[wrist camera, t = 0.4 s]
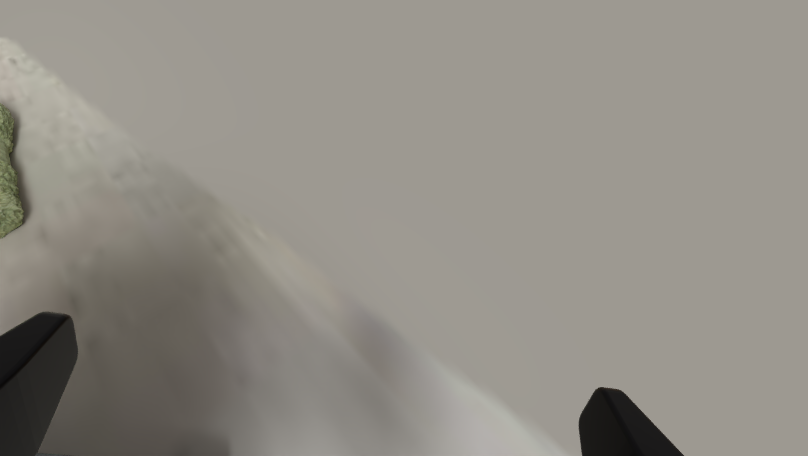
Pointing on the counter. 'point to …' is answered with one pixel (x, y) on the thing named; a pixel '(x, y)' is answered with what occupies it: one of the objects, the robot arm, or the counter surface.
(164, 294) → the counter surface
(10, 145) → the washcloth
